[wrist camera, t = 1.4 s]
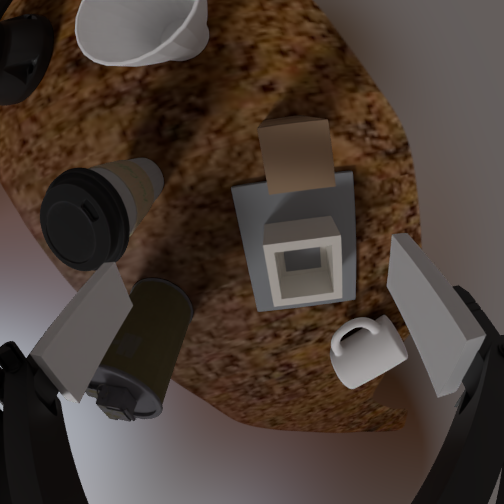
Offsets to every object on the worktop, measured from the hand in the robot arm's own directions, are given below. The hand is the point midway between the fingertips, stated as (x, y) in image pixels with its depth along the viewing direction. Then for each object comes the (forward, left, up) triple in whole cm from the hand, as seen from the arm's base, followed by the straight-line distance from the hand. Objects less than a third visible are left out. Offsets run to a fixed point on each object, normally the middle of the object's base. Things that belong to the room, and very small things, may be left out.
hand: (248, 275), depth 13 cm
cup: (-18, -6, -22) cm, 29 cm away
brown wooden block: (-4, +3, -22) cm, 22 cm away
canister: (+17, -19, -22) cm, 34 cm away
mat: (+10, +3, -22) cm, 24 cm away
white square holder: (+10, +3, -21) cm, 23 cm away
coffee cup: (-2, -15, -22) cm, 26 cm away
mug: (+26, +11, -22) cm, 36 cm away
